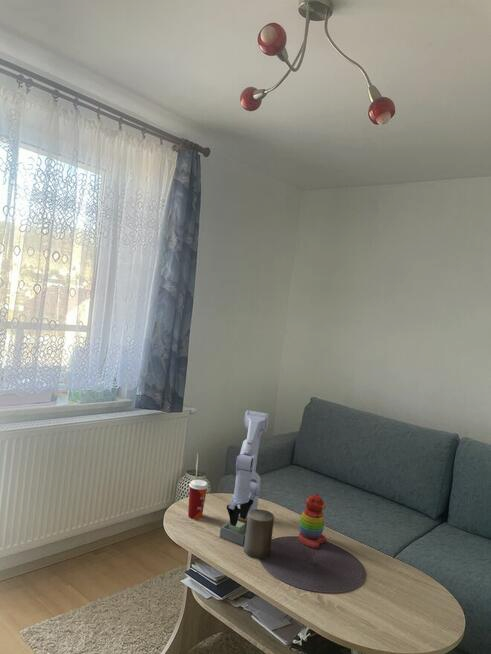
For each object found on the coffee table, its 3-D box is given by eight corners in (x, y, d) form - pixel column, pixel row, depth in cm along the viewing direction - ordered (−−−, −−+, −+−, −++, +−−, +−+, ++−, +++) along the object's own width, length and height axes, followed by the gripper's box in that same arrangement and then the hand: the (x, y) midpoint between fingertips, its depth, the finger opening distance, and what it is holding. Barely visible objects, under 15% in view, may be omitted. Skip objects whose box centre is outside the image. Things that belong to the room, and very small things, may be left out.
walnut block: (240, 526, 190) (242, 514, 190) (250, 530, 188) (252, 517, 188) (234, 530, 186) (236, 517, 186) (245, 534, 184) (246, 521, 184)
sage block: (233, 532, 185) (235, 519, 185) (243, 536, 183) (245, 523, 183) (227, 536, 181) (229, 523, 181) (238, 540, 179) (239, 527, 179)
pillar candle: (275, 555, 173) (280, 514, 173) (254, 561, 167) (259, 519, 167) (258, 543, 181) (262, 503, 180) (237, 548, 175) (242, 508, 174)
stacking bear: (316, 550, 180) (322, 504, 179) (292, 540, 186) (298, 495, 185) (328, 540, 189) (333, 496, 188) (305, 531, 195) (310, 488, 194)
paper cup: (203, 521, 192) (207, 487, 192) (184, 519, 193) (188, 484, 192) (205, 513, 200) (209, 480, 200) (187, 510, 200) (190, 477, 200)
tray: (237, 525, 193) (238, 515, 193) (259, 533, 188) (260, 523, 188) (219, 537, 181) (220, 527, 181) (242, 546, 176) (243, 536, 176)
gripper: (242, 478, 189) (238, 512, 190) (223, 488, 177) (219, 524, 177) (258, 483, 186) (254, 517, 187) (240, 494, 173) (235, 531, 174)
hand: (238, 521), depth 182 cm, fingers open, 7 cm apart
